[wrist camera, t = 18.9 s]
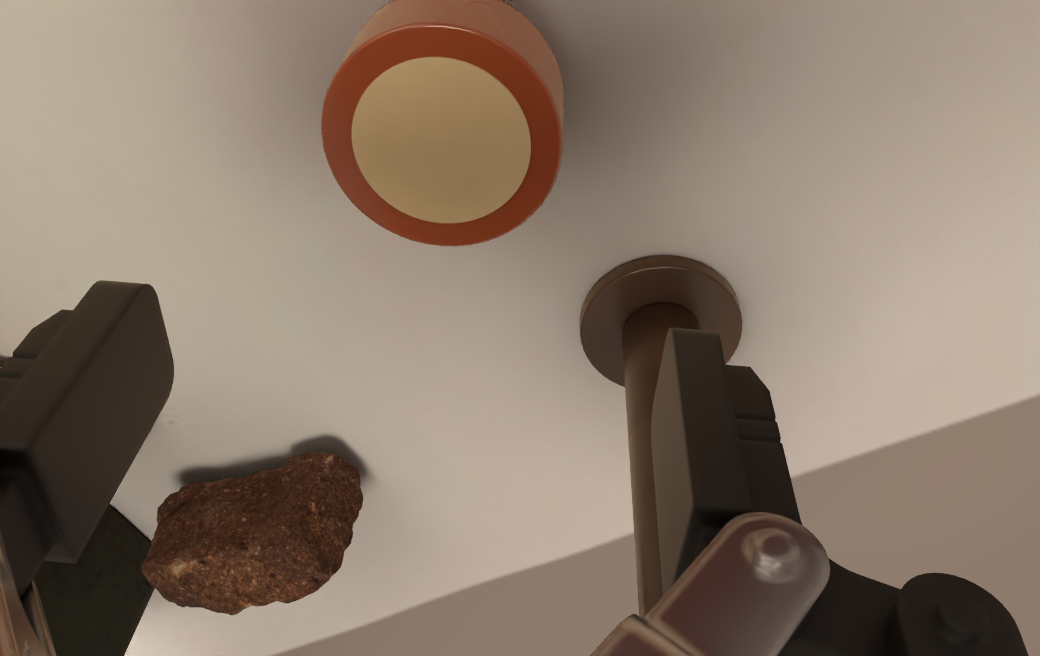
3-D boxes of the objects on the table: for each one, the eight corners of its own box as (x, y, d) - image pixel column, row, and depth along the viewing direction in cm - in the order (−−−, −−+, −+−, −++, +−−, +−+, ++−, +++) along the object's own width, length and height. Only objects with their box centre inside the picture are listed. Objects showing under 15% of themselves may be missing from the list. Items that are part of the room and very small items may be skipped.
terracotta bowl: (574, -31, 21) (573, 33, 18) (556, 168, 25) (552, 257, 21) (354, -47, 21) (309, 14, 18) (365, 154, 25) (329, 240, 21)
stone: (208, 524, 35) (161, 635, 31) (161, 475, 33) (105, 585, 30) (376, 477, 33) (348, 591, 29) (334, 423, 31) (299, 535, 27)
